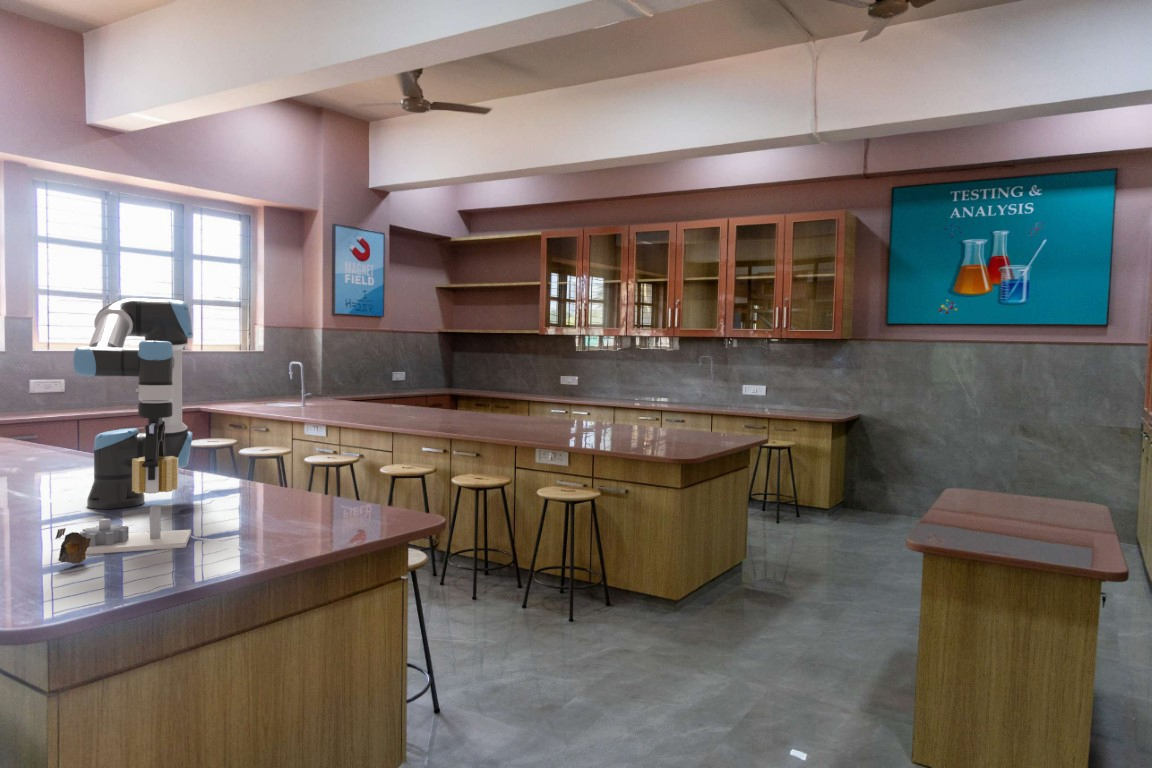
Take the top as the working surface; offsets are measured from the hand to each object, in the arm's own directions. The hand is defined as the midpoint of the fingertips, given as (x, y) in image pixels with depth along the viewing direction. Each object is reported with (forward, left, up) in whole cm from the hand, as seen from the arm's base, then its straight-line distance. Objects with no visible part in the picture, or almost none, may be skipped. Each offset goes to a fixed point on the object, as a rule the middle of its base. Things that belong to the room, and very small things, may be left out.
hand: (155, 488), depth 185 cm
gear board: (0, -6, -14) cm, 15 cm away
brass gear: (0, 0, 0) cm, 0 cm away
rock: (+18, -15, -14) cm, 27 cm away
